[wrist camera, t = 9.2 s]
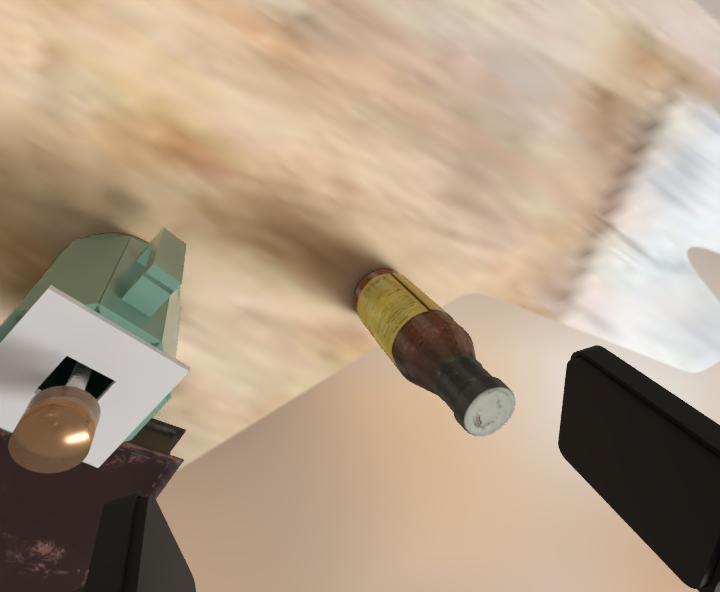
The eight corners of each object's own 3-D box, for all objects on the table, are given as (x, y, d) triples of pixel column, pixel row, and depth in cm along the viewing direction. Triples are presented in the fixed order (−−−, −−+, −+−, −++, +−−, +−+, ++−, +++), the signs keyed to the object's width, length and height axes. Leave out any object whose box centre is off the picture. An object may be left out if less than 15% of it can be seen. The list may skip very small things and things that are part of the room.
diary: (-129, 559, 43) (-168, 612, 39) (-8, 356, 39) (-36, 390, 35) (76, 593, 52) (63, 640, 47) (193, 429, 48) (191, 464, 43)
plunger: (31, 318, 34) (-78, 467, 21) (93, 248, 33) (21, 356, 20) (120, 366, 37) (74, 520, 24) (178, 304, 37) (163, 427, 24)
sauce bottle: (348, 322, 47) (430, 459, 30) (355, 265, 45) (449, 378, 28) (406, 320, 49) (514, 447, 32) (415, 266, 47) (538, 371, 30)
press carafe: (21, 297, 37) (-74, 407, 25) (123, 180, 36) (79, 232, 23) (132, 360, 42) (101, 478, 29) (225, 258, 41) (234, 336, 28)
